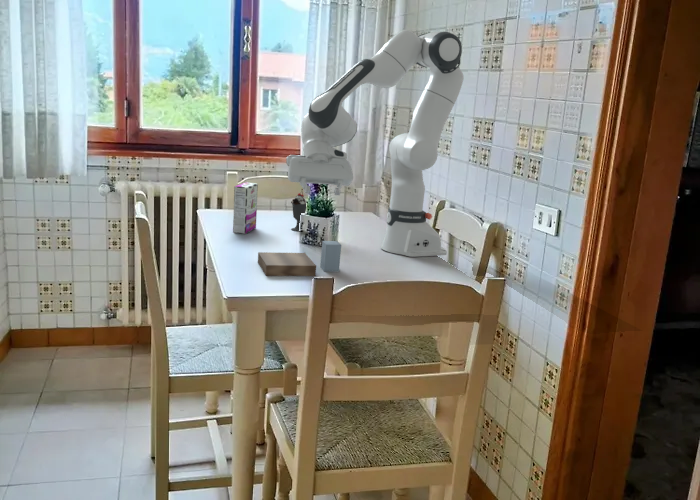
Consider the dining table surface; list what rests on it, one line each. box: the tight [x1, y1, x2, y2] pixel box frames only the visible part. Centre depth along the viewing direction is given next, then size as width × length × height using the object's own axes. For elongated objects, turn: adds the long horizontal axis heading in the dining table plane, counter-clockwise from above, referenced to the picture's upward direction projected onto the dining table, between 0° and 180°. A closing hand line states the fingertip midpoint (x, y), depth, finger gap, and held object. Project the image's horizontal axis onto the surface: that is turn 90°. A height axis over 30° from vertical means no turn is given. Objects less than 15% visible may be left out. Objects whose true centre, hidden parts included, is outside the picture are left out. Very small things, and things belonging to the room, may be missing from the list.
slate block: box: [319, 240, 342, 272], centre depth 194 cm, size 4×4×8 cm
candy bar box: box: [232, 181, 259, 235], centre depth 233 cm, size 11×5×16 cm, turn 168°
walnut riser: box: [257, 251, 317, 277], centre depth 190 cm, size 14×14×3 cm
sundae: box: [290, 188, 308, 232], centre depth 242 cm, size 7×7×15 cm
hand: (322, 193), depth 202 cm, fingers open, 8 cm apart
